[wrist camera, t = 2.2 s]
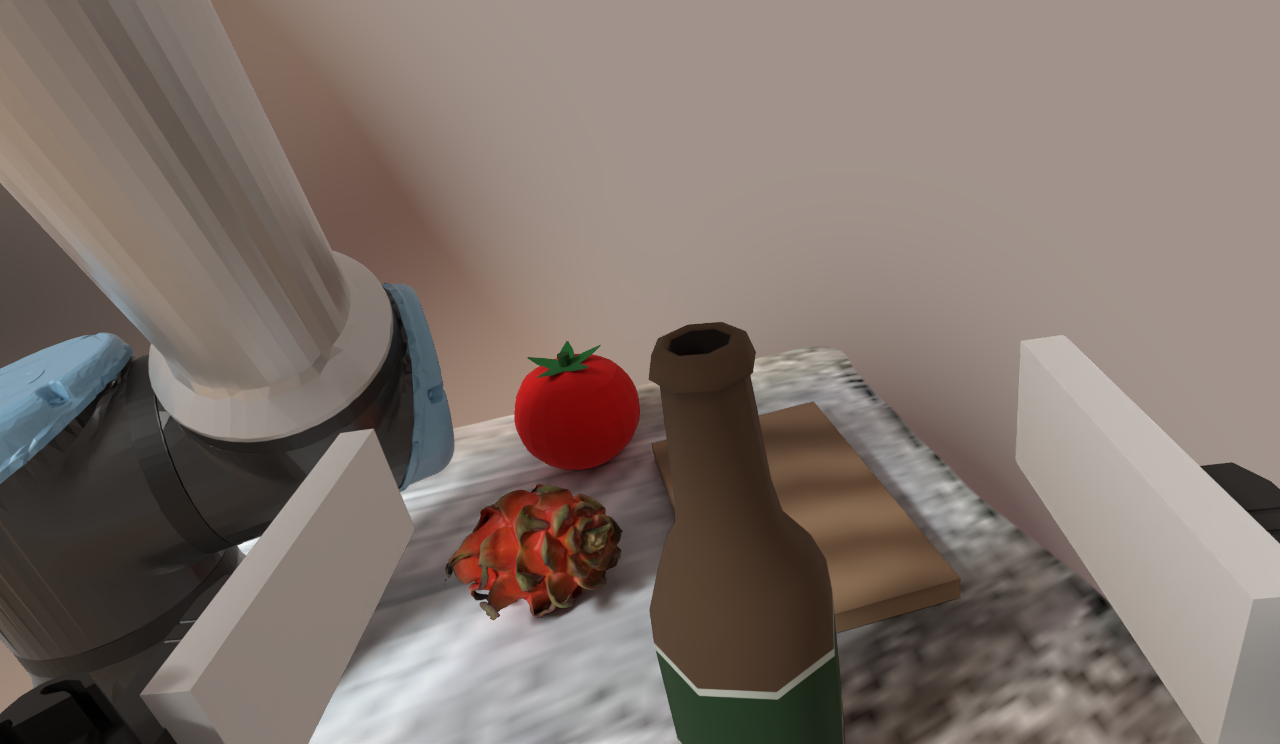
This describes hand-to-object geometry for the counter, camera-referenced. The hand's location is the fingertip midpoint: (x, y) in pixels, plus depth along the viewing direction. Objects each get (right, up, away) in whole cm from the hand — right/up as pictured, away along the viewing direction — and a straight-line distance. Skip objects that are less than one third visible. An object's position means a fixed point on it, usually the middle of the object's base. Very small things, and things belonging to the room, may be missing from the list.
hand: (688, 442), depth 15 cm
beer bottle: (+5, -18, +21) cm, 28 cm away
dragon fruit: (-7, -14, +35) cm, 38 cm away
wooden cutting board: (+9, -9, +38) cm, 40 cm away
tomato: (-5, -6, +49) cm, 50 cm away
